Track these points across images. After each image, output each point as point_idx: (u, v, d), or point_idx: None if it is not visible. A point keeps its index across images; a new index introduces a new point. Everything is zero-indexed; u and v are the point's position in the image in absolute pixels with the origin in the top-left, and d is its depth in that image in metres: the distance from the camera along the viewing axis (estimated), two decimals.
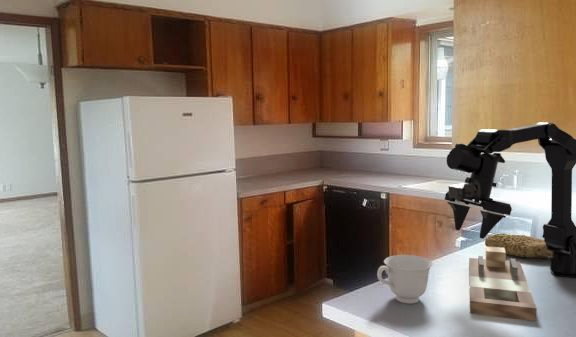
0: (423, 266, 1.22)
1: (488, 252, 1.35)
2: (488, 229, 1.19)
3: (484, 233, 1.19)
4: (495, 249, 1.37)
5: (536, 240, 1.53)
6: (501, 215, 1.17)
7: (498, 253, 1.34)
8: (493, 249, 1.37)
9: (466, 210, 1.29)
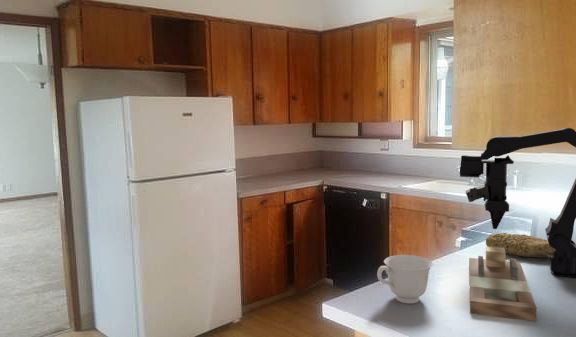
0: (423, 266, 1.22)
1: (488, 252, 1.35)
2: (497, 221, 1.42)
3: (494, 224, 1.43)
4: (495, 249, 1.37)
5: (537, 239, 1.53)
6: None
7: (498, 253, 1.34)
8: (493, 249, 1.37)
9: None
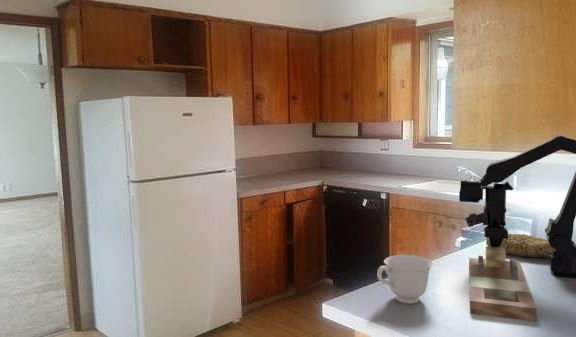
0: (423, 266, 1.22)
1: (488, 252, 1.35)
2: (496, 246, 1.43)
3: None
4: (495, 249, 1.37)
5: (537, 239, 1.54)
6: None
7: (498, 253, 1.34)
8: (493, 249, 1.37)
9: None
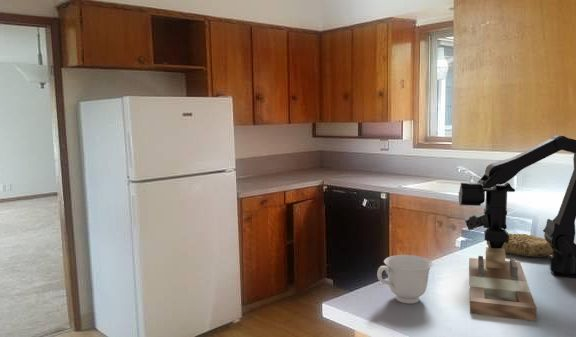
0: (423, 266, 1.22)
1: (488, 253, 1.34)
2: None
3: None
4: (495, 250, 1.36)
5: (537, 239, 1.54)
6: None
7: (498, 254, 1.33)
8: (493, 249, 1.36)
9: None
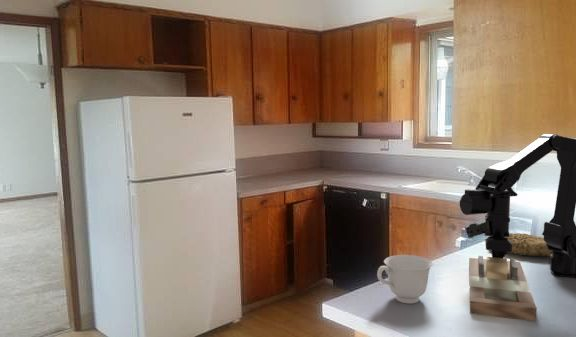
0: (423, 266, 1.22)
1: (489, 263, 1.25)
2: None
3: None
4: (496, 260, 1.27)
5: (538, 238, 1.55)
6: None
7: (500, 264, 1.24)
8: (495, 259, 1.27)
9: None
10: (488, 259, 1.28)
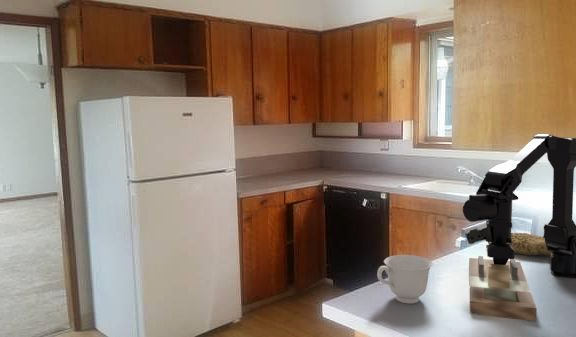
0: (423, 266, 1.22)
1: (490, 270, 1.20)
2: None
3: None
4: (498, 267, 1.21)
5: (538, 238, 1.55)
6: None
7: (502, 272, 1.19)
8: (496, 266, 1.22)
9: None
10: (489, 266, 1.22)
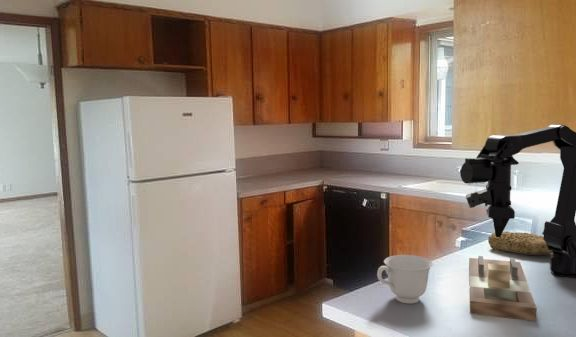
0: (423, 266, 1.22)
1: (490, 270, 1.20)
2: (500, 228, 1.29)
3: (497, 232, 1.30)
4: (498, 267, 1.21)
5: (539, 237, 1.56)
6: None
7: (502, 272, 1.19)
8: (496, 266, 1.22)
9: None
10: (489, 266, 1.22)
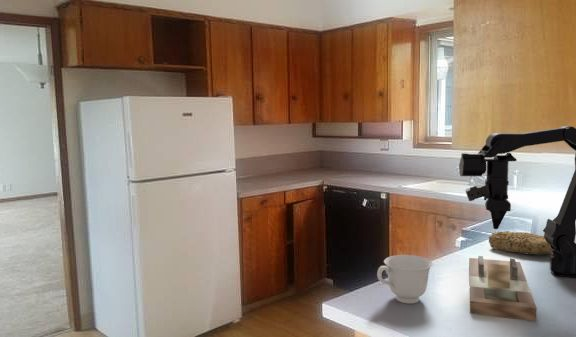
0: (423, 266, 1.22)
1: (490, 270, 1.20)
2: (498, 221, 1.37)
3: (495, 224, 1.38)
4: (498, 267, 1.21)
5: (539, 237, 1.56)
6: None
7: (502, 272, 1.19)
8: (496, 266, 1.22)
9: None
10: (489, 266, 1.22)
